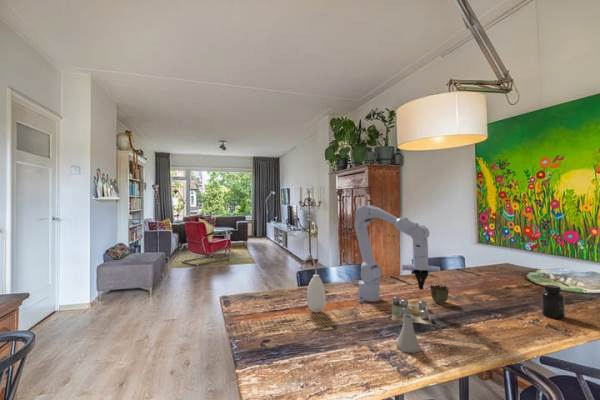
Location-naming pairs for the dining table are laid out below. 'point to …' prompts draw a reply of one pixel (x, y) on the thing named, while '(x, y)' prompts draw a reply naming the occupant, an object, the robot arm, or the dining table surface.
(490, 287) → the dining table surface
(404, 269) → the robot arm
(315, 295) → the sauce bottle
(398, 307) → the birch board
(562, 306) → the supplement bottle
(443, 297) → the cup
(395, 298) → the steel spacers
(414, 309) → the brass nut
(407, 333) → the flask
